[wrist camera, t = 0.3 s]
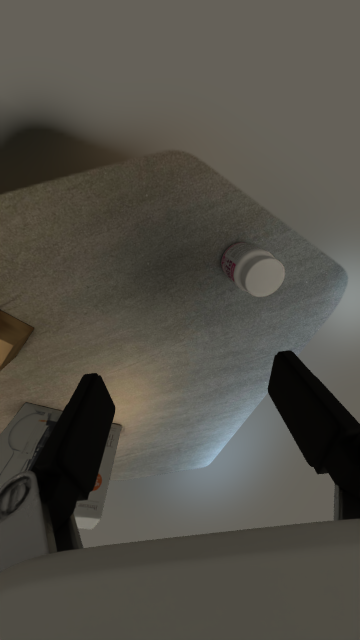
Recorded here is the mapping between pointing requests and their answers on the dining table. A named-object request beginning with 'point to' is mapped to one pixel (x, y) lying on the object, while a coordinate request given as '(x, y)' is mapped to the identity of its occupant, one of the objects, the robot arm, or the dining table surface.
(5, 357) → the block
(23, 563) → the robot arm
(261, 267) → the pill bottle
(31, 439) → the skincare box
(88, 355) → the dining table surface
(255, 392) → the dining table surface
